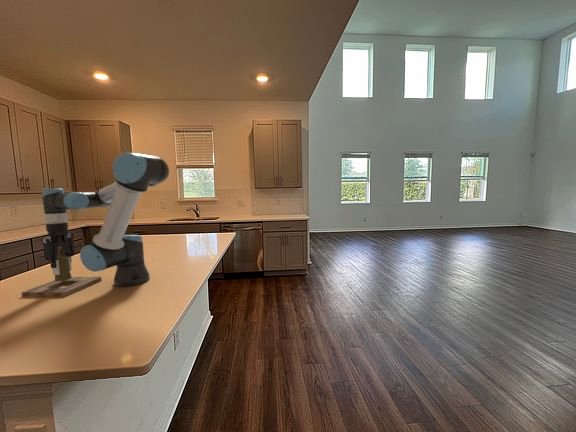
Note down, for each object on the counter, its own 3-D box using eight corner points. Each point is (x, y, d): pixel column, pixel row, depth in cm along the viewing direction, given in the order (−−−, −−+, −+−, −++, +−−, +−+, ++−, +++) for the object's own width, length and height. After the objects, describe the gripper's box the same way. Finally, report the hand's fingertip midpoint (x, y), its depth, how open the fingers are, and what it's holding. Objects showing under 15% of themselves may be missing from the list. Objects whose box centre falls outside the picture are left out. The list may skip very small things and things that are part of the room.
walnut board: (101, 280, 132) (101, 276, 132) (64, 296, 112) (64, 292, 112) (64, 280, 134) (64, 276, 134) (21, 296, 114) (21, 292, 114)
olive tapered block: (61, 281, 119) (59, 257, 118) (51, 281, 120) (48, 257, 119) (75, 277, 125) (72, 254, 124) (64, 276, 126) (62, 254, 125)
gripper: (67, 220, 129) (72, 266, 132) (28, 225, 111) (35, 279, 114) (81, 220, 129) (86, 266, 131) (44, 225, 111) (51, 279, 113)
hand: (62, 272), depth 122 cm, fingers closed on olive tapered block, 5 cm apart
